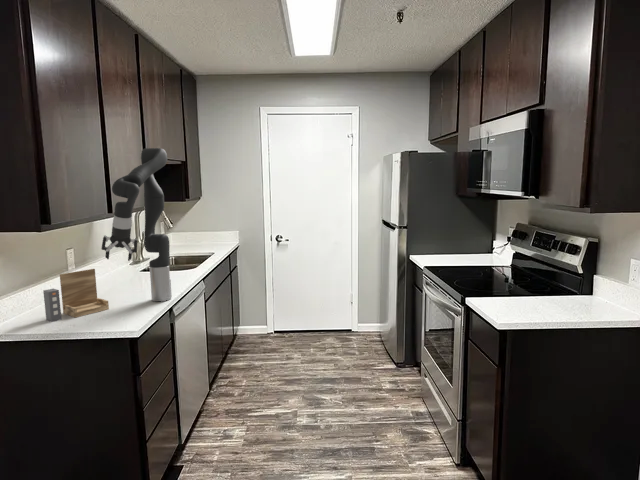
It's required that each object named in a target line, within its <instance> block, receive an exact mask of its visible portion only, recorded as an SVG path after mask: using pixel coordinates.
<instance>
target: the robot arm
mask: <svg viewBox="0 0 640 480" xmlns="http://www.w3.org/2000/svg"><path fill="white" fill-rule="evenodd" d="M140 160H141V164H140V165H137V166H136V167H134V168H133V169H132V170H131V171H130V172H129V173H128V174H127V175H123V176H122V177H119V178H117V179H116V180H115V181H114V182H113V184H112V186H111V191H112V193H113V195H115V197H119V198H124V199H127V200H126V201H118V202H115V205H114V206H115V207H114V215H113V219H112V225H111V226H112V228H111V236H107V235H103V237H102V244H101V248H100V249H101V250H102V251H104V252H105V256H104V257H105V258H106V259H107V260H109V259H110V251H111V250H112V249H113V248H114V247H115V248H117V249H118V248H121V249H125V250H127V252H128V256H127V261H128V262H129V261H130V260H132V257H133V253H135V254H136V253H138V252H137V251H138V238H131V235H132V234H131V231H132V225H133V220H132V219H133V218H132V217H133V209H134V206H135V203H136V200H137V199H138V196H139V194H140V188H141V187H142V186H143V202H144V204H143V205H144V235H143V236H144V237H143V238H144V239H143V243H144V244H143V245H144V249H145V251H146V252H147V253H151V254H152V253H158V257H156V258H153V259H151V260H150V261H149V263H148V264H149V278H150V280H149V281H150V294H151V296H150V297H151V301H152V302H155V301H161V302H167V301H169V300H171V299H172V296H173V295H172V279H171V272H170V259H171V258H170V257H171V256H170V238H169V236H168V235H167V234H163V233H155V232H156V225H157V222H158V220H159V219H160V217H161V216H162V214H163V211H164V210H165V195H164V192H163V189H162V187H160V185H159V184H158V182H157V180H156V179H155V175H154V174H155V173H157V172H158V171H159V170H161V169H162V168H163V167H165V166H166V165H167V163H168V154H167V152H166V150H165V149H164V148H161V147H155V148H154V147H151V148H148V147H146V148H143V149H142V150H141V153H140ZM108 241H110V242H111V243H110V244H108V246H106V242H108ZM130 243H132V244H133V248H132V247H131V246H130ZM166 300H167V301H166Z"/></svg>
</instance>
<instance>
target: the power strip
mask: <svg viewBox="0 0 640 480" xmlns="http://www.w3.org/2000/svg"><path fill="white" fill-rule="evenodd" d="M42 291H43V292H42V293H43V299H44V300H43V301H44V310H45V311H44V312H45V319H46V321H49V322H51V323H53V322H57V321H61V320H62V311H61V300H60V299H61V298H60V291H59V289H56V288H50V289H44V290H42Z"/></svg>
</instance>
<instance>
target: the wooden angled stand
mask: <svg viewBox="0 0 640 480" xmlns="http://www.w3.org/2000/svg"><path fill="white" fill-rule="evenodd" d="M96 278H97V277H96V269H95V268H90V269H84V270H83V269H82V270H79V271H73V272H66V273H61V274H59V282H60V292H61V302H62V303H61V304H62V313H63V314H64V315H66V316H70V317H73V318H79V317H83V316H86V315H87V316H88V315H91V314H95V313H98V312H103V311H107V310H110V306H109V305H110V303H109V300H107V299H103V298H100V297H98V291H97V290H98V289H97V282H96V281H97V279H96Z"/></svg>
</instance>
